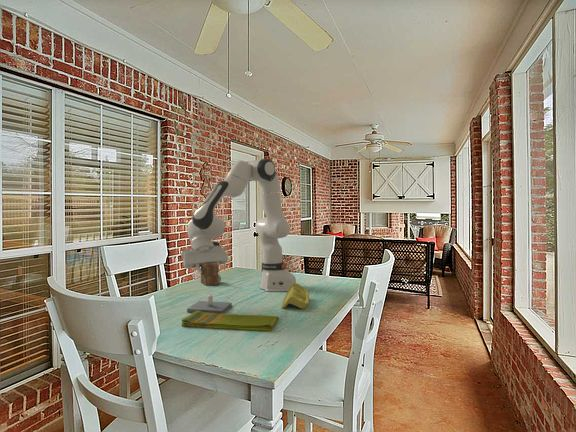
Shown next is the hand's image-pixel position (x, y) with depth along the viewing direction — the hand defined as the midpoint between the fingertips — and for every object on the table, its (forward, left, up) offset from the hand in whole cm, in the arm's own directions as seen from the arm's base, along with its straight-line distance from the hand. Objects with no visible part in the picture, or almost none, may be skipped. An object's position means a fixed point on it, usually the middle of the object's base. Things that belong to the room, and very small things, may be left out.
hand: (209, 272), depth 149 cm
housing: (0, 0, -5) cm, 5 cm away
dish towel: (-15, +14, -17) cm, 26 cm away
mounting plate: (0, 0, -16) cm, 16 cm away
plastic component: (-37, -16, -17) cm, 43 cm away
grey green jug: (+18, -44, -17) cm, 51 cm away
